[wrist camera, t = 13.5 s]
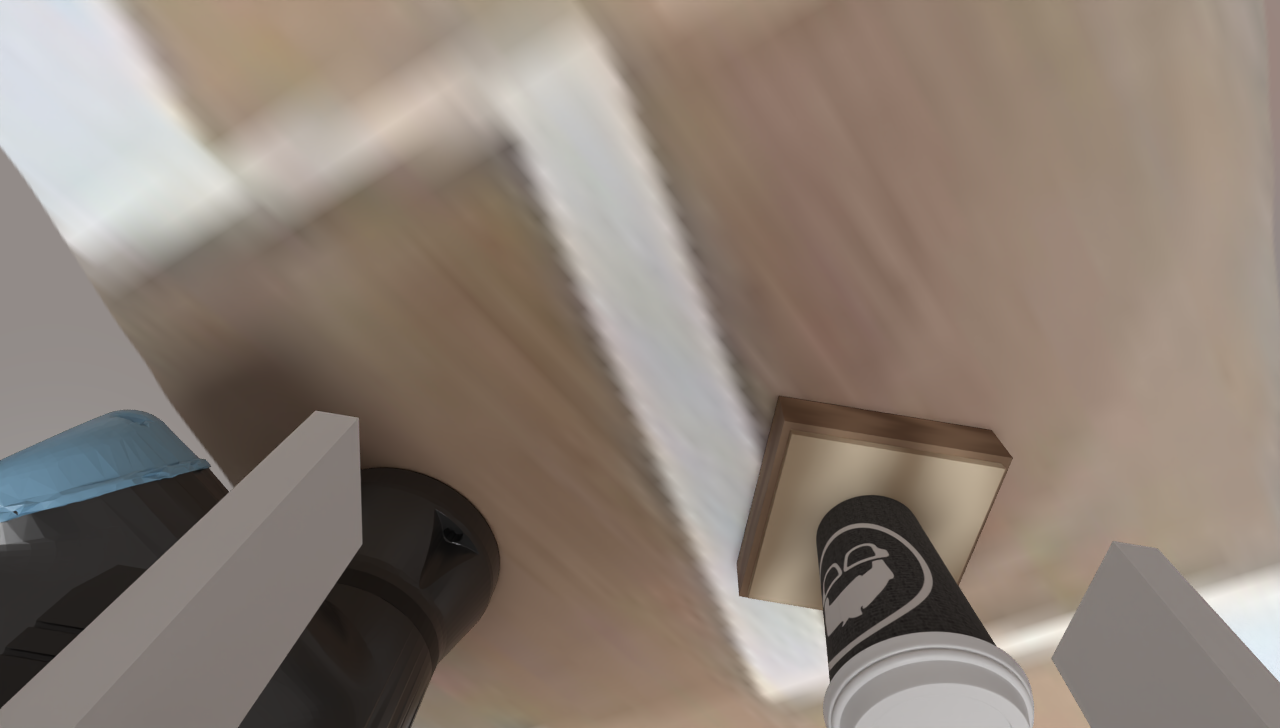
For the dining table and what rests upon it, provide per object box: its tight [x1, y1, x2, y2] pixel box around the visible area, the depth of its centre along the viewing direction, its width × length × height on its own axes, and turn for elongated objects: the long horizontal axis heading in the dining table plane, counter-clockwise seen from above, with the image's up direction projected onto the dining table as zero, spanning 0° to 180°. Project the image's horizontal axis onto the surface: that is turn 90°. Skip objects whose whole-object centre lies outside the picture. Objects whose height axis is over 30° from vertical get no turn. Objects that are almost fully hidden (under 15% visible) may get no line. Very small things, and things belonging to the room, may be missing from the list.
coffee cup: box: [816, 495, 1034, 728], centre depth 39 cm, size 10×10×15 cm
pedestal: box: [737, 396, 1013, 610], centre depth 47 cm, size 14×14×4 cm
